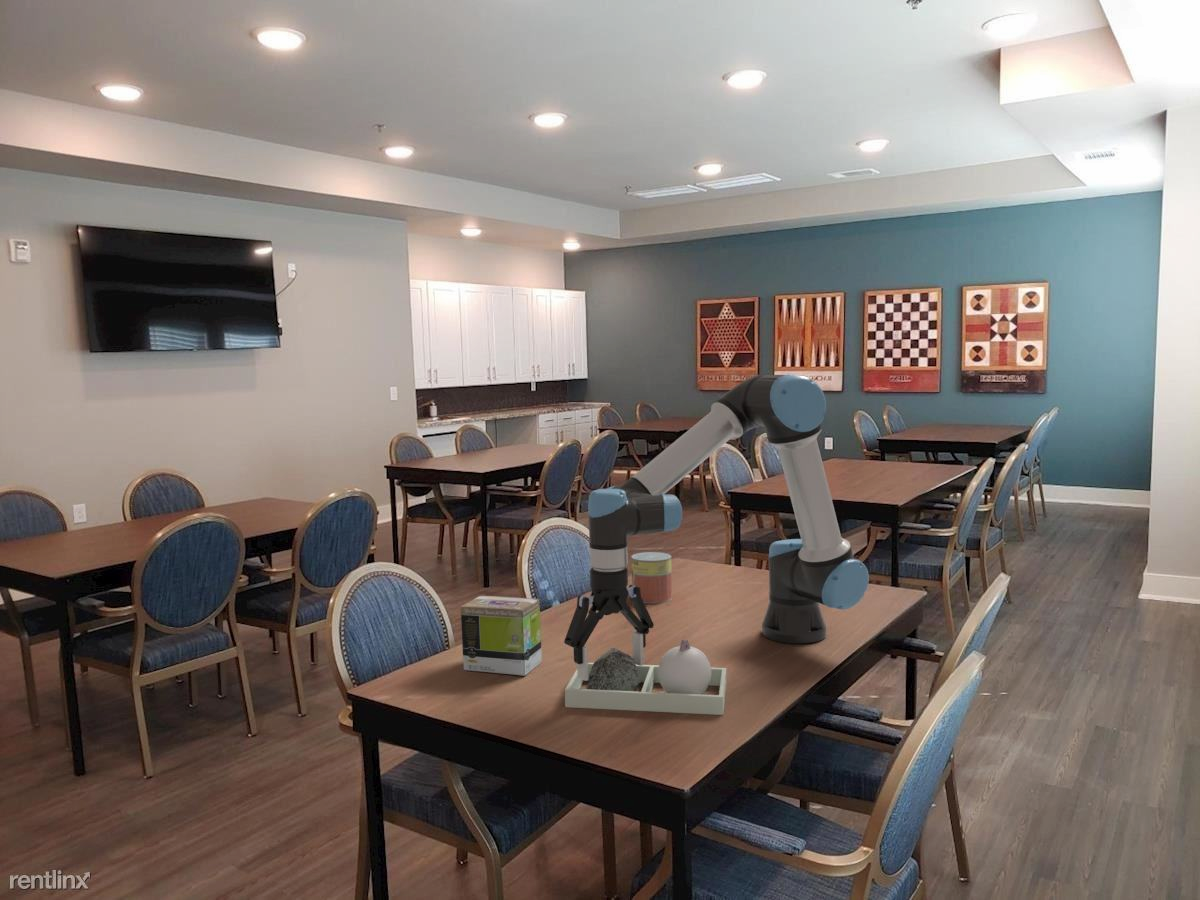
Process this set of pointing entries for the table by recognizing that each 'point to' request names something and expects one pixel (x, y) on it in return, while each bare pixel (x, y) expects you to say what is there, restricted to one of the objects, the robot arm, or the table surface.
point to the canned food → (652, 576)
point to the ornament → (684, 670)
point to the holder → (648, 695)
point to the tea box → (501, 635)
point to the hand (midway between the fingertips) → (611, 671)
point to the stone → (614, 672)
